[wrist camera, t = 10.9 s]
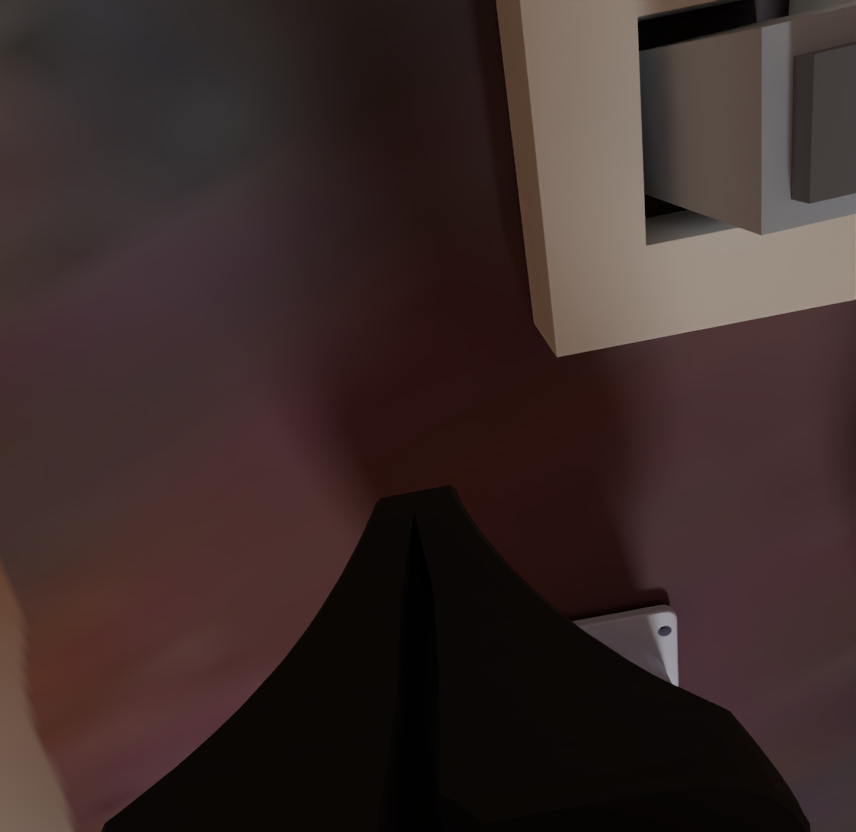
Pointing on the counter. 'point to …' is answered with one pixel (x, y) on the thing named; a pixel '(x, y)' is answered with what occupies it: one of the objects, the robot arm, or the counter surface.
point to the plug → (755, 121)
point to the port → (633, 194)
